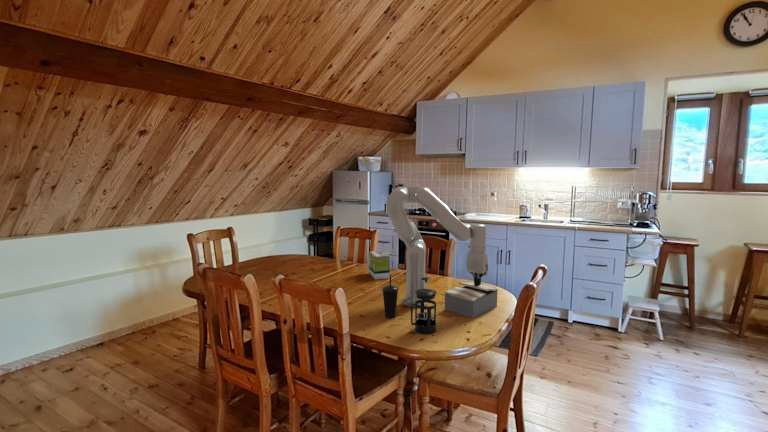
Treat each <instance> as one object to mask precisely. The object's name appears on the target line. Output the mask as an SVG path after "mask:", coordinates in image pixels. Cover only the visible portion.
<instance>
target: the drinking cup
mask: <svg viewBox="0 0 768 432" xmlns="http://www.w3.org/2000/svg"><path fill="white" fill-rule="evenodd" d="M381 289H382V296H383V298H382V299H383V307H384V317H385V318H386V319H395V318H396V317H397V316H396V314H397V304H398V303H397V302H398V292H399V287H398V286H396V285H393V284H392V274H390V278H389V284H388V285H385V286H382V287H381Z"/></svg>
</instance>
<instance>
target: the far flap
mask: <svg viewBox="0 0 768 432" xmlns="http://www.w3.org/2000/svg"><path fill="white" fill-rule="evenodd" d="M458 285H461V286H469V287H473V288H477V289H481V290H485V291H497V292H498V288H494V287H489V286H486V285H481V284H480V285H479V286H474V282H469V281H468V282H466V281H465V282H458Z"/></svg>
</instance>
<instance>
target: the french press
mask: <svg viewBox="0 0 768 432" xmlns="http://www.w3.org/2000/svg"><path fill="white" fill-rule="evenodd" d="M421 279H422V280H425V284H427V283H428V281H431V280H432V278H431V277H427V276H425V277H423V278H421ZM415 293H416V297H417V298H418V299H422V300H418V301H416V302H415V304H411V307H410V324H411V326H414V331H415V332H416V333H418V334H419V335H420V334H421V335H432V334H435V333H436V332H437V302H436V301H434V299H435V297H436V295H437V291H436V290H435V289H431V288H425V289H418V290H416V291H415ZM424 302H425V306H424ZM418 303H420V306H419V305H417V304H418ZM426 303H428V304H433V305H430V306H428V305H426ZM413 306H415V307H413ZM413 308H414V309H413ZM418 309H420V311H419V312H418ZM413 310H414V312H413ZM432 310H433V313H432ZM413 313H414V314H413ZM413 315H414V322H413Z"/></svg>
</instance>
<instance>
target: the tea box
mask: <svg viewBox="0 0 768 432" xmlns="http://www.w3.org/2000/svg"><path fill="white" fill-rule="evenodd" d="M390 258H391V257H390V254H388V253H386V252H385V251H384V250H374V251H368V274H369V275H370V276H371V277H372V278H373V279H374V280H387V279H390V275H391V269H390V268H391V267H390V265H391V264H390V263H391V262H390V261H391V259H390Z"/></svg>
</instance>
